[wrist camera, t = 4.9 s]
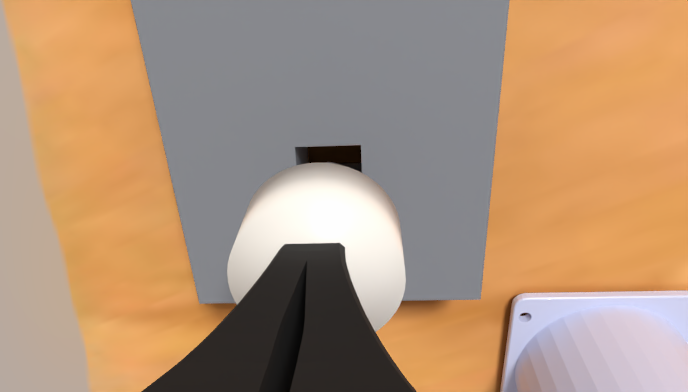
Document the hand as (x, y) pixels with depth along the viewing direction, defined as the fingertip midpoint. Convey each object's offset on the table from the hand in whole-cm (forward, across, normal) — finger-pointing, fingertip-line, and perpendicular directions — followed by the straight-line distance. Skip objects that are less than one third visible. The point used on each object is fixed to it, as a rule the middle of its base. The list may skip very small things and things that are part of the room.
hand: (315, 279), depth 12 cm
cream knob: (+5, 0, 0) cm, 5 cm away
